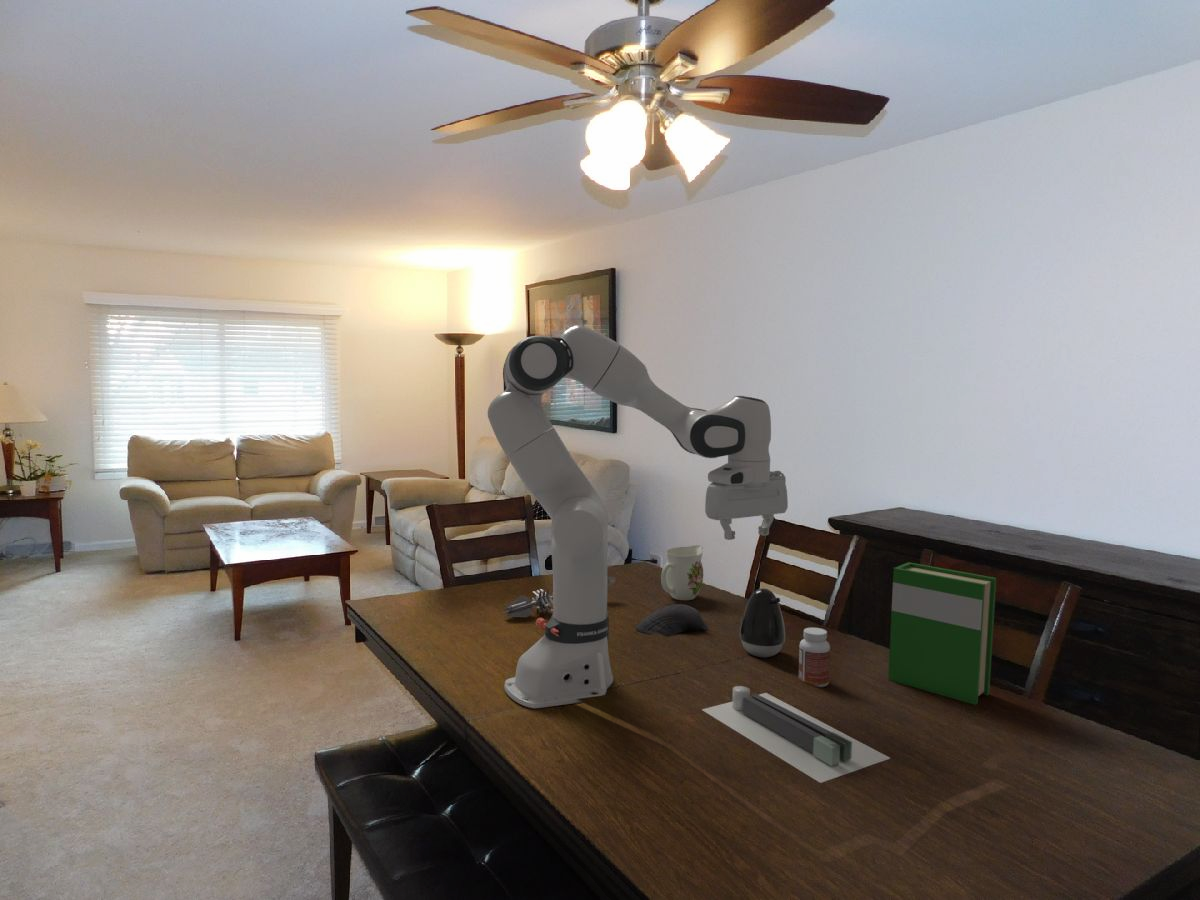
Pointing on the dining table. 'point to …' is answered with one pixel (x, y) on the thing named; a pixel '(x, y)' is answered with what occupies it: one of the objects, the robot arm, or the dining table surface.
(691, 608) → the seashell
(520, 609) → the spaceship
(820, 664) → the pill bottle
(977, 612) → the hardback book
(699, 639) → the dining table surface
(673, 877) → the dining table surface
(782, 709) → the tong upper arm
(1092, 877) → the dining table surface
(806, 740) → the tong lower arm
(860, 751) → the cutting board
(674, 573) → the pitcher
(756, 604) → the black white egg-shaped piece
